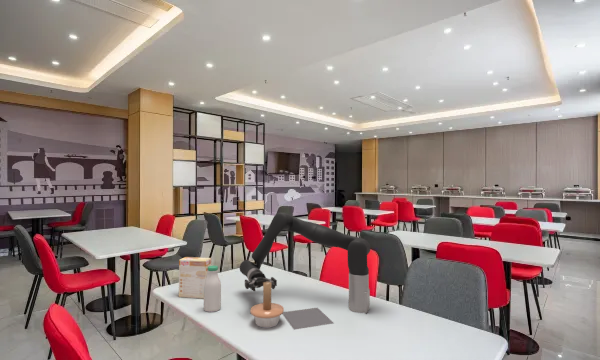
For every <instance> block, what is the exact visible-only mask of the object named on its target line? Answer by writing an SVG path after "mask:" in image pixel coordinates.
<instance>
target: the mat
mask: <svg viewBox="0 0 600 360" xmlns="http://www.w3.org/2000/svg"><path fill="white" fill-rule="evenodd" d="M282 316H283V317H284V319H286V321H287V323H288V324H289V325H290V326H291V328H292V329H293V331H294V330H299V329H300V330H301V329H305V328H307V329H308V328H312V327H313V328H314V327H320V326H325V325H333V324H334V321H332V320H331V319H330V318H329V316H327V314H325V313H324V312H323V311H322V310H321V309H319V307H312V308H311V307H310V308H305V309H297V310H290V311H289V310H288V311H284V312H283V314H282Z"/></svg>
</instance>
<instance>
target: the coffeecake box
mask: <svg viewBox="0 0 600 360" xmlns="http://www.w3.org/2000/svg"><path fill="white" fill-rule="evenodd" d="M178 265H179V266H178V297H179V298H189V299H191V298H192V299H200V300H201V299H202V300H204V285H205V281H206V278H207V276H208V267H209V266H212V257H196V256H195V257H194V256H185V257H183V258H180V259H178Z"/></svg>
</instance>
